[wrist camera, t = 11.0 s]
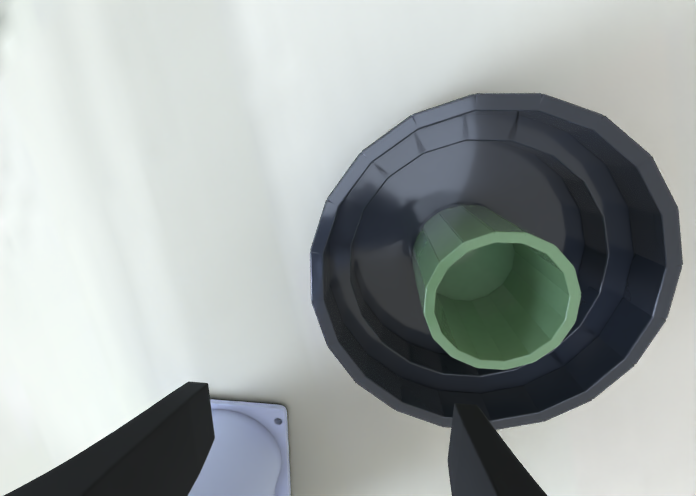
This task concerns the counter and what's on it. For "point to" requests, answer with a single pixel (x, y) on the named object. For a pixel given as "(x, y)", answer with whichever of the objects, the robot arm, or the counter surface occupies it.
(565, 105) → the dark bowl
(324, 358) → the counter surface
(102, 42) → the counter surface
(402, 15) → the counter surface
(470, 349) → the green cup
